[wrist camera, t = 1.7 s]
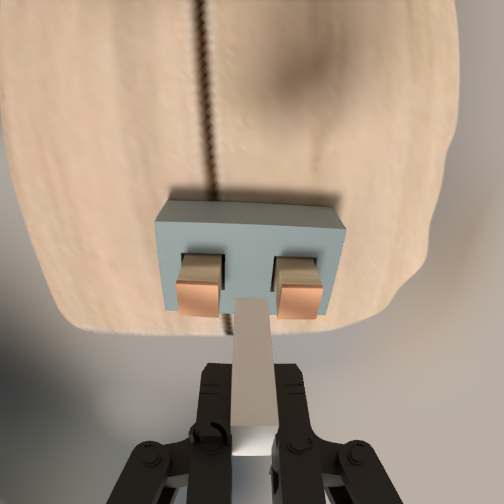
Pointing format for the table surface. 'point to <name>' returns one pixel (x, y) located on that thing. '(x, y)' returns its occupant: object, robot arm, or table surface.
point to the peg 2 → (296, 288)
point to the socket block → (247, 245)
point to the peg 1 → (199, 285)
